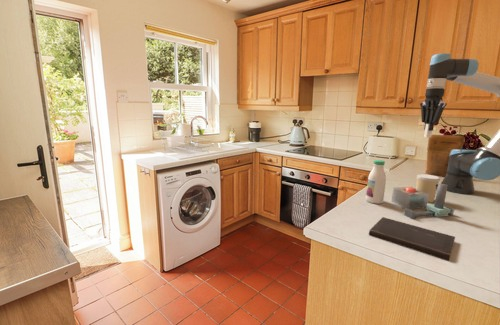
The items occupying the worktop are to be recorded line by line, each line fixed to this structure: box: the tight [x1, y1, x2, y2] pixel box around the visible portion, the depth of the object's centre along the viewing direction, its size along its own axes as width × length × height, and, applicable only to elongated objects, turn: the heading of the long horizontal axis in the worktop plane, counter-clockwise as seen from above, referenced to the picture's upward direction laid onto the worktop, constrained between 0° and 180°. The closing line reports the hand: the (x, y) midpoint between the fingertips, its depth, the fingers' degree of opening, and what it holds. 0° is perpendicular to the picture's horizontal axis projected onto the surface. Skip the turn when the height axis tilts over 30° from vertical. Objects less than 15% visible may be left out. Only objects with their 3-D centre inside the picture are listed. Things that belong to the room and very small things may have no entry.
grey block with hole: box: [390, 186, 429, 210], centre depth 123 cm, size 10×10×7 cm
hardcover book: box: [368, 216, 456, 262], centre depth 91 cm, size 16×23×2 cm
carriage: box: [425, 183, 451, 218], centre depth 111 cm, size 6×6×13 cm
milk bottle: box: [365, 159, 387, 205], centre depth 125 cm, size 8×8×20 cm
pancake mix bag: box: [425, 134, 466, 178], centre depth 177 cm, size 7×19×28 cm, turn 49°
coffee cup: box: [415, 173, 440, 203], centre depth 130 cm, size 9×9×12 cm
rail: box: [403, 205, 455, 220], centre depth 111 cm, size 21×4×3 cm, turn 102°
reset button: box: [405, 186, 416, 193], centre depth 122 cm, size 4×4×6 cm
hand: (427, 137), depth 132 cm, fingers closed
